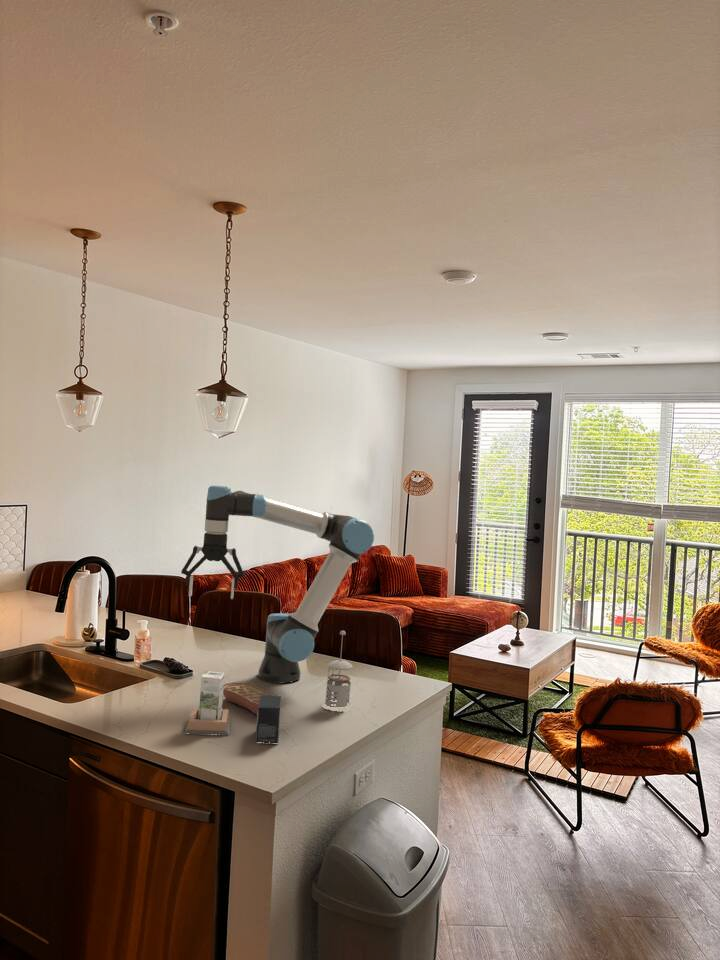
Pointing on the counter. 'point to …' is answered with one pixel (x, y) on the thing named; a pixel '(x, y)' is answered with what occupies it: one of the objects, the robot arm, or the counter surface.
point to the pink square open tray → (208, 724)
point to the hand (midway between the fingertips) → (211, 596)
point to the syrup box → (211, 696)
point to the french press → (338, 682)
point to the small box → (268, 719)
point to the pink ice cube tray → (244, 695)
